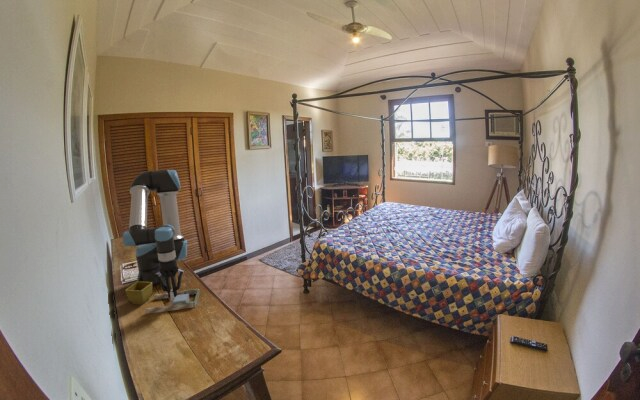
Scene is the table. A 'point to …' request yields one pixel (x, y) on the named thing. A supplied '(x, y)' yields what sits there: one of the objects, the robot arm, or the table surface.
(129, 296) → the flower pot
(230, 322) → the table surface
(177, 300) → the slate block
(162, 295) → the wooden wall shelf
